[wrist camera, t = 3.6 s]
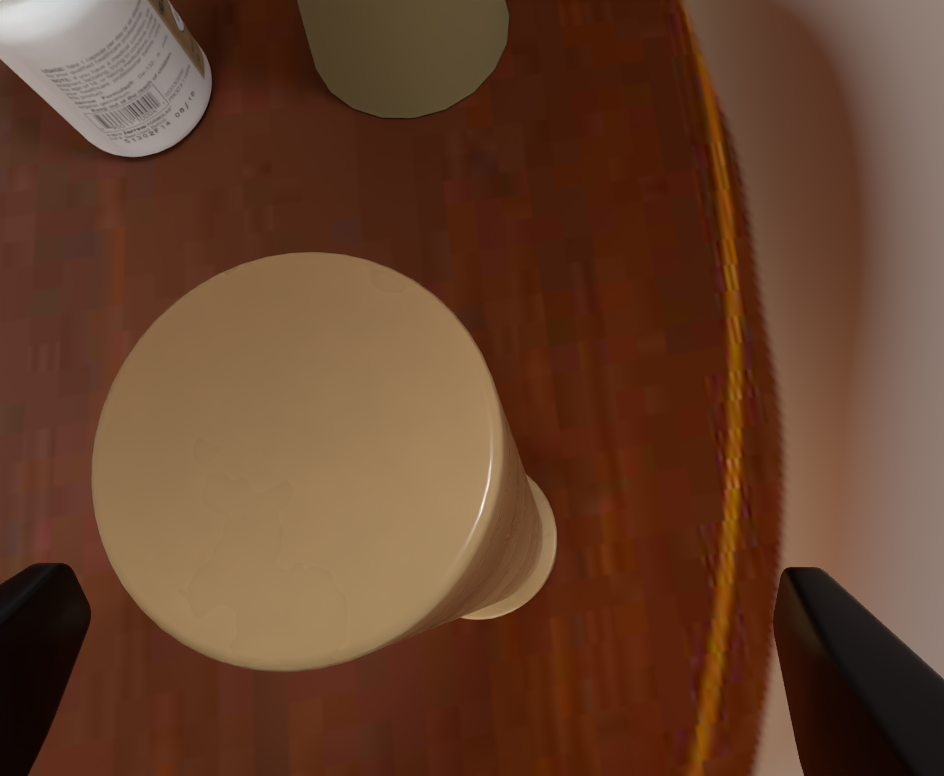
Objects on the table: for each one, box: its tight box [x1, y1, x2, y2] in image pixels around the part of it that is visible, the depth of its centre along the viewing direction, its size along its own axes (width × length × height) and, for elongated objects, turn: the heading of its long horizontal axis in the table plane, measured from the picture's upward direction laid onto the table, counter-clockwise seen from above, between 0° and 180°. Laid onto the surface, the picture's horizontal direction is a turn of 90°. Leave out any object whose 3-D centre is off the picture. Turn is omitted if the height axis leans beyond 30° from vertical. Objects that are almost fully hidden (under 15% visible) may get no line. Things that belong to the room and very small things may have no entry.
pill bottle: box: [0, 0, 212, 157], centre depth 19 cm, size 4×4×8 cm
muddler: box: [92, 252, 557, 672], centre depth 12 cm, size 4×4×14 cm
